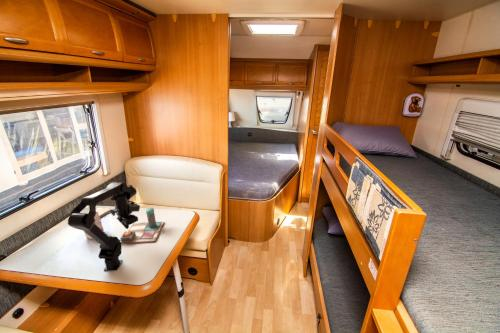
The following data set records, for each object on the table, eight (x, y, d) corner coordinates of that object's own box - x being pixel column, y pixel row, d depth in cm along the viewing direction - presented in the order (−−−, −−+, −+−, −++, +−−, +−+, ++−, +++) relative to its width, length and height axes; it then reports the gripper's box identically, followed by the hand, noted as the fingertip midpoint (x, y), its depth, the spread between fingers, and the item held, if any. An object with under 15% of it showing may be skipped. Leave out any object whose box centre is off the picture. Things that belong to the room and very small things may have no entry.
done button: (130, 239, 133) (129, 234, 132) (124, 239, 133) (123, 235, 132) (132, 235, 136) (131, 231, 135) (126, 235, 136) (125, 231, 135)
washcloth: (77, 222, 154) (75, 218, 153) (100, 209, 170) (100, 205, 169) (89, 225, 151) (88, 221, 150) (112, 211, 166) (111, 208, 165)
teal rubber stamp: (156, 227, 145) (153, 210, 141) (149, 229, 144) (145, 212, 139) (156, 223, 149) (153, 207, 145) (148, 225, 148) (145, 208, 143)
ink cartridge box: (97, 230, 145) (91, 210, 140) (103, 230, 144) (98, 211, 139) (85, 238, 137) (79, 217, 132) (92, 239, 136) (86, 218, 131)
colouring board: (155, 242, 133) (154, 236, 132) (120, 244, 132) (118, 238, 130) (164, 222, 152) (163, 217, 151) (133, 224, 150) (132, 219, 149)
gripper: (145, 203, 122) (149, 227, 127) (128, 193, 132) (133, 216, 138) (124, 212, 113) (130, 237, 119) (107, 201, 124) (114, 225, 129)
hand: (127, 228), depth 126 cm, fingers closed
